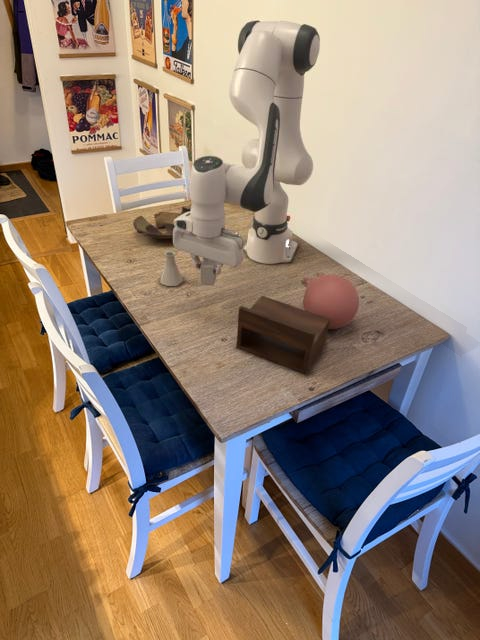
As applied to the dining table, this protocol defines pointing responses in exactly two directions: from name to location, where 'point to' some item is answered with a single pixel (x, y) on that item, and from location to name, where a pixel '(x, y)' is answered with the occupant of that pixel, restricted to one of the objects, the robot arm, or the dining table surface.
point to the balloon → (331, 298)
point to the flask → (171, 271)
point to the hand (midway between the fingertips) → (207, 270)
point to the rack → (282, 333)
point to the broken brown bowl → (159, 223)
